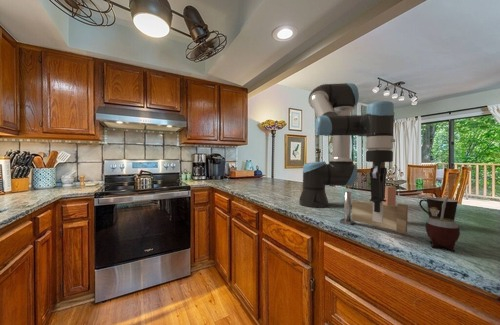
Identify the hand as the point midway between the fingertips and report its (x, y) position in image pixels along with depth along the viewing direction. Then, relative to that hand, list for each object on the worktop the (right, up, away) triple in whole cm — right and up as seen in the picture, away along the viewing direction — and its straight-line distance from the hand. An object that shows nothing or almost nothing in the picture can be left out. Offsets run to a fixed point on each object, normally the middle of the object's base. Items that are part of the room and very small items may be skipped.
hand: (377, 221), depth 69 cm
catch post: (+13, -4, +15) cm, 20 cm away
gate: (+3, -3, +5) cm, 6 cm away
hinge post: (-4, -4, +12) cm, 14 cm away
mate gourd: (+12, -5, -10) cm, 16 cm away
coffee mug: (+30, -5, +11) cm, 33 cm away
